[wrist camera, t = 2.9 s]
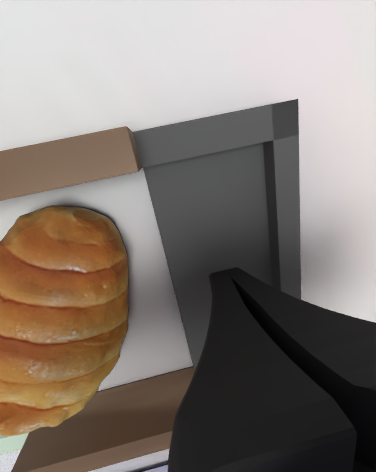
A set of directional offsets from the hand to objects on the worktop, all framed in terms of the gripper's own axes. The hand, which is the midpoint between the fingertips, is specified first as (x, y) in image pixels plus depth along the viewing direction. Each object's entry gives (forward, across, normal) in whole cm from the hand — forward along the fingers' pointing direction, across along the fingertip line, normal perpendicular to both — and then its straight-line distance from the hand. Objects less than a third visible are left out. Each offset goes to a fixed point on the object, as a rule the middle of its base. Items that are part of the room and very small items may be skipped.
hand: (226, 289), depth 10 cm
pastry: (+2, +8, 0) cm, 8 cm away
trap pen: (+1, -1, 0) cm, 2 cm away
